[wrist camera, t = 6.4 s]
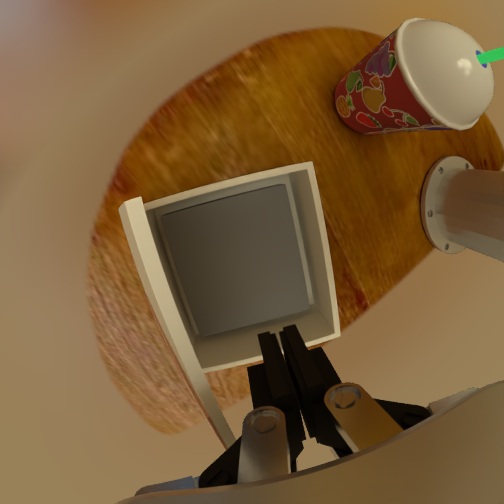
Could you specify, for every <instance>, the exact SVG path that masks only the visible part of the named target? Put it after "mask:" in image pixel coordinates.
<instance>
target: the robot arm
mask: <svg viewBox="0 0 504 504" xmlns="http://www.w3.org/2000/svg"><path fill="white" fill-rule="evenodd" d="M421 217H422V223H423V227H424V230H425V233H426V235H427V237H428V239H429V241H430V242H431V243H432V244H433V246H434V247H435V248H437V249H438V250H440V251H442V252H445V253H448V254H456V253H459V252H461V251H463V250H464V249H466V248H469V249H472V250H474V251H477V252H479V253H482V254H484V255H487V256H490V257H492V258H495V259H497V260H500V261H502V262H504V172H503V171H491V170H478V169H474V167H473V166H472V165H471V164H470V163H469V162H468V161H467V160H465V159H464V158H462V157H459V156H446V157H443V158H441V159H439V160H438V161H437V162H436V163H435V164H434V165H433V166H432V168H431V169H430V170H429V172H428V174H427V176H426V179H425V182H424V185H423V190H422V195H421ZM257 336H258V340H259V344H260V348H261V352H262V357H263V361H264V363H262V364H258V365H254V366H250V367H247V371H248V377H249V384H250V390H251V396H252V402H253V408H254V410H252V411H251V412H249V413H248V414H247V415H246V417H245V418H244V421H243V426H242V435H241V437H239V438H238V440H236V441H235V442H234V443H233V444H232V445H231V446H230V447H229V448H228V449H227V450H226V451H225V452H224V453H223V454H222V455H221V456H220V457H219V458H218V459H217V460H216V461H214V462H213V463H212V464H211V465H210V466H209V467H208V468H207V469H206V470H204V472H203V473H202V474H201V475H200V476H198V477H195V478H194V477H193V476H189V477H185V478H181V479H177V480H173V481H169V482H164V483H159V484H154V485H148V486H145V487H142V488H140V489H139V490H138V491H137V492H136V494H135V496H133V497H130V498H127V499H124V500H121V501H119V502H117V503H115V504H504V380H503V381H498V382H495V383H492V384H489V385H486V386H484V387H482V388H474V387H472V388H468V389H466V390H463V391H461V392H458V393H456V394H453V395H451V396H448V397H446V398H443V399H440V400H438V401H434V402H432V403H429V405H428V406H427V407H422V406H418V405H411V404H404V403H398V402H391V401H385V400H379V399H374V398H372V397H371V396H370V395H369V394H368V393H367V392H366V391H365V390H364V389H363V388H362V387H361V386H360V385H358V384H355V383H350V382H346V383H342V382H341V380H340V378H339V377H338V375H337V373H336V371H335V370H334V368H333V366H332V364H331V363H330V361H329V359H328V357H327V356H326V354H325V352H324V351H323V349H322V348H321V347H317V348H314V349H311V350H308V349H307V347H306V345H305V343H304V341H303V339H302V337H301V335H300V333H299V331H298V329H297V327H296V325H295V324H293V325H289V326H286V327H283V331H280V332H279V336H280V340H281V344H282V348H283V353H284V357H285V359H284V357H283V354H282V351H281V348H280V345H279V342H278V340H277V337H276V334H275V333H273V334H270V331H268V332H264V333H260V334H257ZM285 361H286V362H285ZM300 411H301V412H300ZM301 414H302V416H303V419H304V422H305V425H306V428H307V431H308V433H309V436H310V438H313V437H315V438H316V441H317V443H320V444H323V445H326V446H329V448H330V450H331V452H332V454H333V455H334V457H335V458H336V460H334V461H331V462H328V463H325V464H321V465H318V466H315V467H312V468H308V469H305V470H301V471H298V461H297V457H298V455H299V454H300V453H301V451H302V450H303V449H304V447H303V443H302V441H303V440H306V437H305V431H304V426H303V422H302V417H301Z"/></svg>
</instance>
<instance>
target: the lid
mask: <svg viewBox="0 0 504 504" xmlns="http://www.w3.org/2000/svg"><path fill="white" fill-rule="evenodd" d="M118 210H119V214H120V217H121V220H122V224H123V227H124V230H125V234H126V237H127V240H128V243H129V246H130V249H131V252H132V255H133V258H134V261H135V264H136V267H137V270H138V273H139V276H140V278H141V281H142V284H143V286H144V289H145V295H146V298H147V300H148V303H149V306H150V308H151V311H152V313H153V315H154V318H155V320H156V322H157V325H158V327H159V329H160V331H161V334H162V336H163V338H164V340H165V342H166V344H167V346H168V348H169V351H170V353H171V355H172V357H173V359H174V361H175V363H176V365H177V367H178V369H179V371H180V373H181V375H182V377H183V379H184V381H185V383H186V384H187V386H188V388H189V390H190V392H191V394H192V395H193V397H194V399H195V401H196V403H197V404H198V406H199V408H200V410H201V411H202V413H203V415H204V416H205V418H206V420H207V422H208V423H209V425H210V426H211V428H212V430H213V431H214V433H215V435H216V436H217V438H218V439H219V441H220V443H221V444H222V446H223V447H224V449H225V450H227V449H228V448H229V447H230V446H231V445H232V444H233V443H234V442H235V441H236V439H235V437H234V435H233V433H232V431H231V429H230V427H229V425H228V423H227V421H226V419H225V418H224V416H223V413H222V411H221V409H220V407H219V405H218V403H217V401H216V399H215V397H214V395H213V393H212V390H211V388H210V386H209V384H208V382H207V380H206V377H205V375H204V373H203V371H202V368H201V366H200V364H199V361H198V359H197V357H196V354H195V352H194V350H193V347H192V345H191V343H190V340H189V338H188V335H187V333H186V330H185V328H184V325H183V323H182V320H181V317H180V315H179V312H178V310H177V307H176V304H175V302H174V299H173V296H172V293H171V291H170V288H169V285H168V282H167V279H166V276H165V273H164V271H163V268H162V265H161V262H160V259H159V255H158V252H157V249H156V246H155V243H154V240H153V236H152V233H151V230H150V226H149V223H148V220H147V216H146V213H145V209H144V206H143V202H142V198H141V197H137V198H134V199H131V200H128V201H125V202H124V203H123V204H122V205H121V206H120V208H119V209H118Z"/></svg>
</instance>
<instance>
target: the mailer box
mask: <svg viewBox="0 0 504 504" xmlns="http://www.w3.org/2000/svg"><path fill="white" fill-rule="evenodd" d="M143 206H144V209H145V213H146V216H147V220H148V223H149V226H150V230H151V233H152V236H153V240H154V243H155V246H156V249H157V252H158V255H159V259H160V262H161V265H162V268H163V271H164V273H165V276H166V279H167V282H168V285H169V288H170V291H171V293H172V296H173V299H174V302H175V304H176V307H177V310H178V312H179V315H180V317H181V320H182V323H183V325H184V328H185V330H186V333H187V335H188V338H189V340H190V343H191V345H192V347H193V350H194V352H195V354H196V357H197V359H198V361H199V364H200V366H201V368H202V371H203V373H207V372H212V371H217V370H221V369H226V368H230V367H235V366H239V365H243V364H247V363H251V362H255V361H259V360H263V357H262V352H261V348H260V344H259V340H258V336H257V334H260V333H264V332H268V331H270V334H273V333H275V334H276V337H277V340H278V342H279V345H280V348H281V351H282V354H284V353H283V348H282V344H281V340H280V336H279V332H280V331H283V327H286V326H289V325H293V324H295V325H296V327H297V329H298V331H299V333H300V335H301V337H302V339H303V341H304V343H305V345H306V347H309V346H312V345H315V344H318V343H322V342H325V341H328V340H331V339H334V338H337V337H339V336H341V335H340V325H339V316H338V307H337V299H336V291H335V283H334V276H333V269H332V263H331V256H330V250H329V244H328V238H327V232H326V226H325V221H324V215H323V210H322V205H321V200H320V195H319V190H318V185H317V180H316V176H315V171H314V167H313V162H312V161H310V162H305V163H299V164H294V165H289V166H284V167H279V168H275V169H270V170H266V171H261V172H257V173H253V174H248V175H244V176H240V177H236V178H232V179H228V180H224V181H220V182H217V183H213V184H209V185H205V186H202V187H198V188H195V189H191V190H187V191H184V192H181V193H177V194H174V195H170V196H167V197H164V198H161V199H157V200H154V201H151V202H148V203H145V204H143Z"/></svg>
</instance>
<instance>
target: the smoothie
mask: <svg viewBox="0 0 504 504" xmlns="http://www.w3.org/2000/svg"><path fill="white" fill-rule="evenodd" d="M500 59H504V47H501V48H498V49H494V50H491V51H487V52H484V50H483V49H482V48H481V46H480V45H479V44H478V42H477V41H476V40H474V38H472V37H471V36H470V35H469V34H468V33H467V32H465V31H463V30H462V29H460V28H459V27H457V26H455V25H452V24H450V23H446V22H443V21H437V20H428V19H422V18H411V19H408V20H406V21H404V22H403V23H402V24H401V25H400V27H398V28H397V29H396V30H395V31H394V32H392V33H391V34H390V35H389V36H388V37H387V38H385V39H384V40H383V41H382V42H381V43H380V44H379V45H378V46H376V47H375V48H374V49H373V50H372V51H371V52H370V53H369V54H368V55H367V56H365V57H364V58H363V59H362V60H361V61H360V62H359V63H358V64H357V65H356V66H355V67H354V68H353V69H352V70H350V71H349V72H348V73H347V74H346V75H345V76H344V77H343V78H342V79H341V80H340V82H339V83H338V85H337V86H336V90H335V104H336V109H337V111H338V114H339V116H340V117H341V119H342V120H343V121H344V122H345V123H346V124H347V125H348V126H350V127H351V128H352V129H353V130H355V131H357V132H359V133H362V134H365V135H378V134H388V133H399V132H412V131H428V130H452V129H455V130H465V129H470V128H471V127H472V126H473V125H474V124H475V123H476V122H477V121H478V120H479V117H480V116H481V115H482V114H483V113H484V112H485V111H486V110H487V109H488V107H489V105H490V103H491V100H492V97H493V93H494V74H493V70H492V66H491V64H490V62H493V61H496V60H500Z"/></svg>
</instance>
